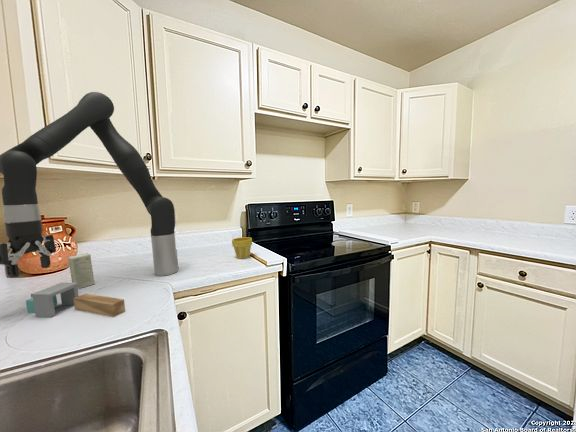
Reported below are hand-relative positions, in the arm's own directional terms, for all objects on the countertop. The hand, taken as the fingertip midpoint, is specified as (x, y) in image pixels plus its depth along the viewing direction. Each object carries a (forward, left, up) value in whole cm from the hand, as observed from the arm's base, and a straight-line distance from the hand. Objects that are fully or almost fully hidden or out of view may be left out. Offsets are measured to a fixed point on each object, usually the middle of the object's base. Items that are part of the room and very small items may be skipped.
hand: (30, 272), depth 75 cm
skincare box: (-19, -3, -12) cm, 23 cm away
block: (0, +2, -12) cm, 12 cm away
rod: (0, +21, -12) cm, 25 cm away
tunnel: (0, +8, -12) cm, 14 cm away
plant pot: (-58, +50, -12) cm, 78 cm away
